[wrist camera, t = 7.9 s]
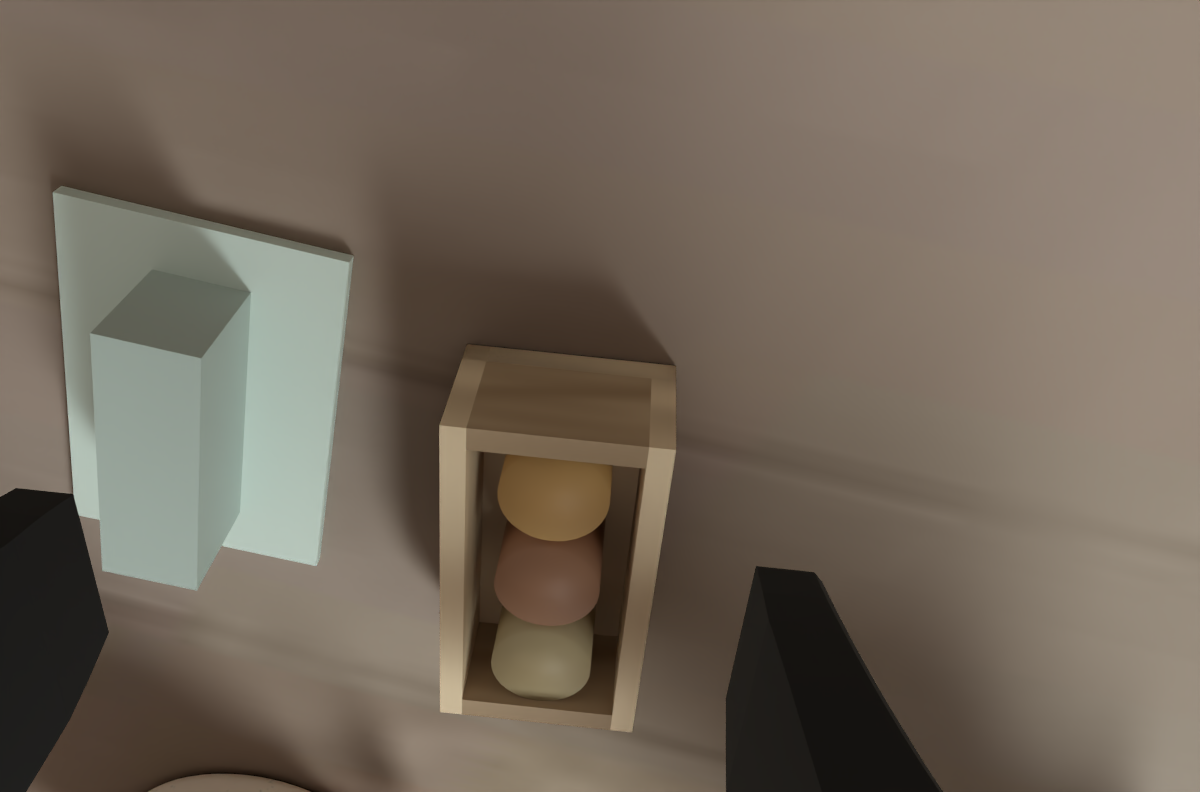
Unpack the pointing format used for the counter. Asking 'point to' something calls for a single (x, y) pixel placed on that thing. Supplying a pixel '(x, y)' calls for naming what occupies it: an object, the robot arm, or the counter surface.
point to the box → (551, 533)
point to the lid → (197, 384)
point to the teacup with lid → (226, 784)
